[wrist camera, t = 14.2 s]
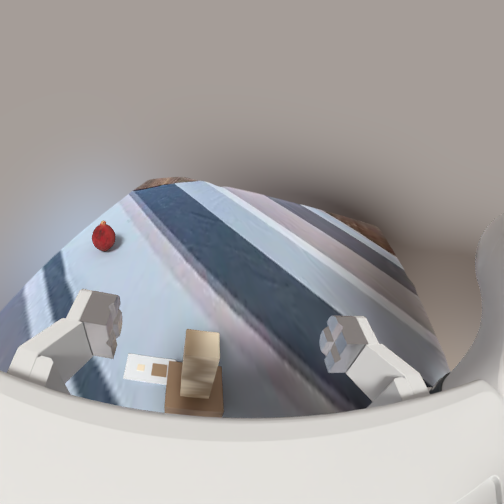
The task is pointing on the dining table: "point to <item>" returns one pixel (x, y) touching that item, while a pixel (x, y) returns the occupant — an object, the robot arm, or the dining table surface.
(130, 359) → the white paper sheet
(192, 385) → the pillar
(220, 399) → the plinth
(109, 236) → the red rounded piece
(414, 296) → the dining table surface
